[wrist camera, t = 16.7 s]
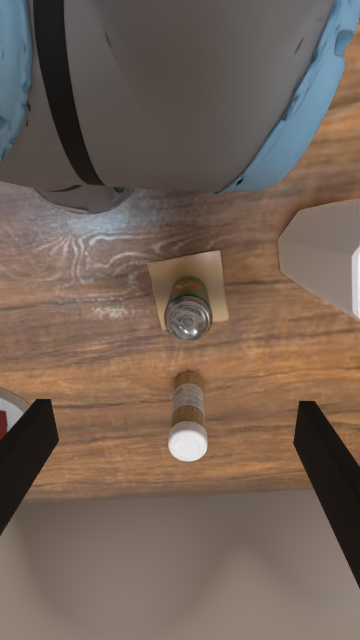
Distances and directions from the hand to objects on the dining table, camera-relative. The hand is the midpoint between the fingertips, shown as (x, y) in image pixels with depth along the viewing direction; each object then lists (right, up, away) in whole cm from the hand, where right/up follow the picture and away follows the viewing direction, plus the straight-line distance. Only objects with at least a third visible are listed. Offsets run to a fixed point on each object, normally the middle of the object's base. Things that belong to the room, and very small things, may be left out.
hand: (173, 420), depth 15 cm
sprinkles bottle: (+2, -5, +30) cm, 30 cm away
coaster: (+2, +9, +24) cm, 26 cm away
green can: (+2, +9, +24) cm, 26 cm away
